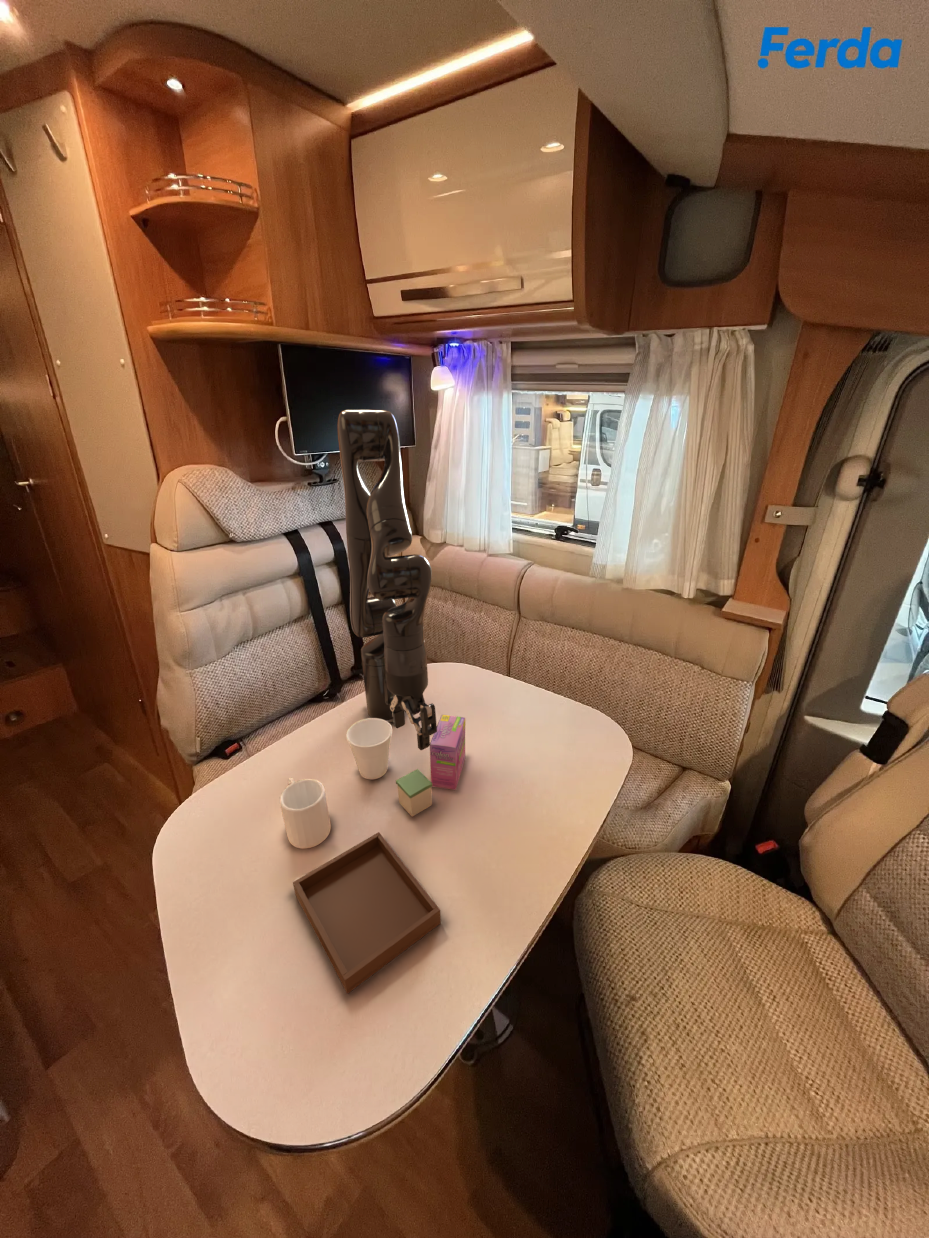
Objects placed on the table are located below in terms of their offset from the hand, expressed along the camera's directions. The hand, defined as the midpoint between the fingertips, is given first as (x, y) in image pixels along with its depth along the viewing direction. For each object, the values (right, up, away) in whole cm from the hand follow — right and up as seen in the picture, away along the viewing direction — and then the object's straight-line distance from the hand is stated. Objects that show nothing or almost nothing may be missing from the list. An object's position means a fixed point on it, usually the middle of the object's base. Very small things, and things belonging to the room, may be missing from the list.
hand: (411, 736), depth 96 cm
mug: (-21, -18, +3) cm, 28 cm away
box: (+7, -12, +16) cm, 21 cm away
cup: (-10, -12, +16) cm, 23 cm away
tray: (-6, -26, -13) cm, 29 cm away
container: (0, -16, +7) cm, 17 cm away
